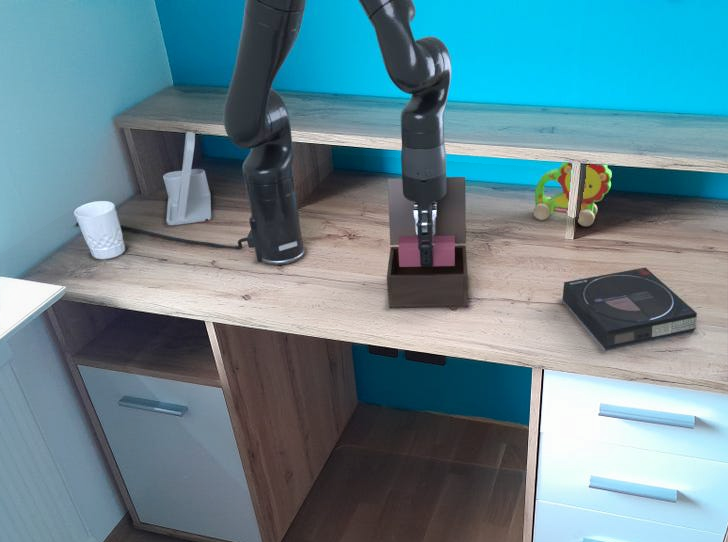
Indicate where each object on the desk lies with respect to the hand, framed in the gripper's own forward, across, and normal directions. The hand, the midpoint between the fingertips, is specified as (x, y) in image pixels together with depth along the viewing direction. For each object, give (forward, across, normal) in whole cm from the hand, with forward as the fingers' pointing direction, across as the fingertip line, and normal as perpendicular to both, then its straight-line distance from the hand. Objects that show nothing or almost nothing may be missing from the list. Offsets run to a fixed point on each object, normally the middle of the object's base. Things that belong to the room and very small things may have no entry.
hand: (427, 257), depth 126 cm
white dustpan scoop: (+8, -41, -58) cm, 72 cm away
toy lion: (+8, -30, +31) cm, 44 cm away
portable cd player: (+8, +10, +35) cm, 37 cm away
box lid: (-5, -8, 0) cm, 10 cm away
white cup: (+8, -19, -69) cm, 72 cm away
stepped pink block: (0, 0, 0) cm, 0 cm away
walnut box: (+8, 0, 0) cm, 8 cm away
